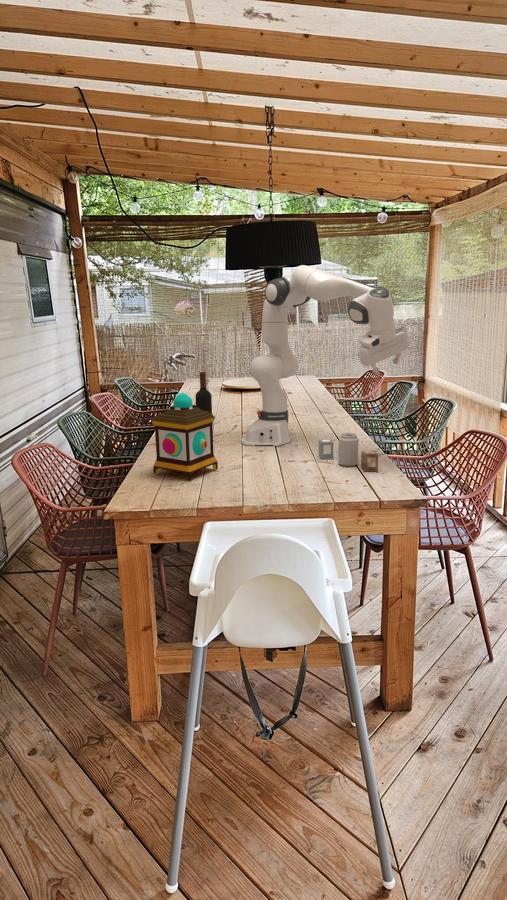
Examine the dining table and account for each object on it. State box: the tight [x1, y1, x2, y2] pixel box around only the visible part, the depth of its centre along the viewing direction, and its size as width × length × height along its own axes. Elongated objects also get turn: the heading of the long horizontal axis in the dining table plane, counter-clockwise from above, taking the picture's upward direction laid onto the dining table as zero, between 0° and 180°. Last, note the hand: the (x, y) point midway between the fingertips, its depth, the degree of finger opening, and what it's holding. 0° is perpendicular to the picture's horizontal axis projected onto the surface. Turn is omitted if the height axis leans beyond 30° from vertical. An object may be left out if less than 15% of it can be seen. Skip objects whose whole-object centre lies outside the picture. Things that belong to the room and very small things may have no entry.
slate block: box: [318, 438, 334, 460], centre depth 234 cm, size 5×5×7 cm
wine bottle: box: [195, 371, 213, 414], centre depth 275 cm, size 8×8×30 cm
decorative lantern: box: [151, 392, 219, 482], centre depth 215 cm, size 20×20×30 cm
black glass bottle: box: [203, 365, 221, 425], centre depth 304 cm, size 13×13×30 cm
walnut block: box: [360, 450, 379, 474], centre depth 216 cm, size 5×5×7 cm
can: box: [337, 432, 359, 468], centre depth 223 cm, size 8×8×12 cm
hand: (386, 367), depth 220 cm, fingers open, 8 cm apart
